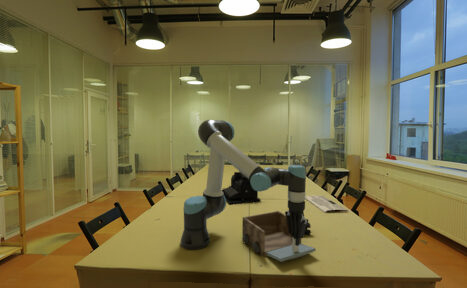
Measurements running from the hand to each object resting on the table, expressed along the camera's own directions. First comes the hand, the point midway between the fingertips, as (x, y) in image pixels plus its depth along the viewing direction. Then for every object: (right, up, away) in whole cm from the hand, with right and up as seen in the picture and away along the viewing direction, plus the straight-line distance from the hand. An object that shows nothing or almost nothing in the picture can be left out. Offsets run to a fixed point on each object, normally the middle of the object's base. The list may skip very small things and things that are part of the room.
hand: (295, 251), depth 103 cm
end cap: (+12, -3, +30) cm, 32 cm away
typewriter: (-23, +1, +97) cm, 100 cm away
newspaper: (+44, -1, +80) cm, 91 cm away
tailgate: (-4, -2, +8) cm, 9 cm away
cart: (-8, -3, +17) cm, 19 cm away
